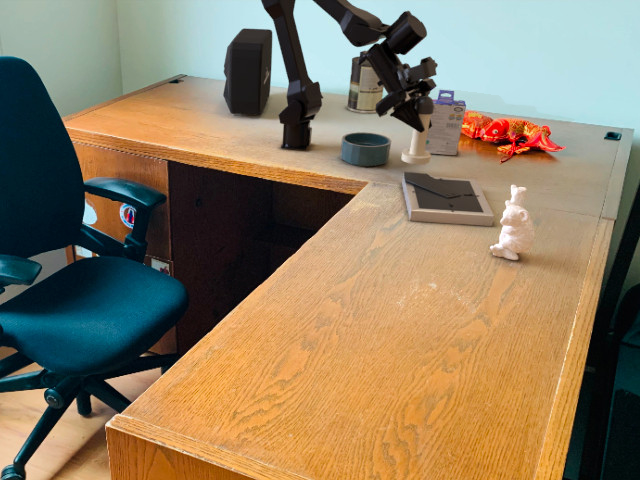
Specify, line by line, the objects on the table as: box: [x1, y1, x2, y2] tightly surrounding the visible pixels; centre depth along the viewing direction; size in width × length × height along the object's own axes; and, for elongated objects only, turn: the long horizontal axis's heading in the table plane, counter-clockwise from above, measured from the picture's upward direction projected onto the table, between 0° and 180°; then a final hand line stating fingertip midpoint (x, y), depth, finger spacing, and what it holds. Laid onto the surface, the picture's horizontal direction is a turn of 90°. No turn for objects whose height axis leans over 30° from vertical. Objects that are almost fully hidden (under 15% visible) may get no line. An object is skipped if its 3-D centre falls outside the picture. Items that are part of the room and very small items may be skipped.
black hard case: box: [222, 28, 273, 116], centre depth 197 cm, size 30×12×20 cm, turn 172°
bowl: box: [339, 131, 392, 167], centre depth 160 cm, size 12×12×5 cm
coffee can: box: [346, 55, 385, 114], centre depth 198 cm, size 10×10×14 cm
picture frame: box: [401, 171, 495, 227], centre depth 138 cm, size 16×3×21 cm
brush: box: [400, 95, 434, 166], centre depth 147 cm, size 6×6×14 cm
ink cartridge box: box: [424, 89, 467, 156], centre depth 164 cm, size 10×6×14 cm, turn 78°
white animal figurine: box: [489, 184, 536, 261], centre depth 115 cm, size 8×7×12 cm
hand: (426, 129), depth 146 cm, fingers closed on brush, 3 cm apart
